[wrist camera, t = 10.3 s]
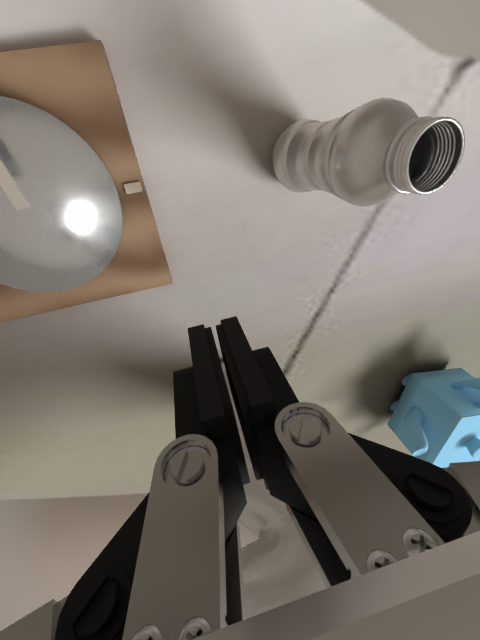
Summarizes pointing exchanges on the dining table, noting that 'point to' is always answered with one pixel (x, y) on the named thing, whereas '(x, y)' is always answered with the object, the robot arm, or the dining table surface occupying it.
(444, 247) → the dining table surface
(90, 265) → the dial
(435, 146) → the plastic bottle
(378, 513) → the robot arm
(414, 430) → the teakettle
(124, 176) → the dial base
